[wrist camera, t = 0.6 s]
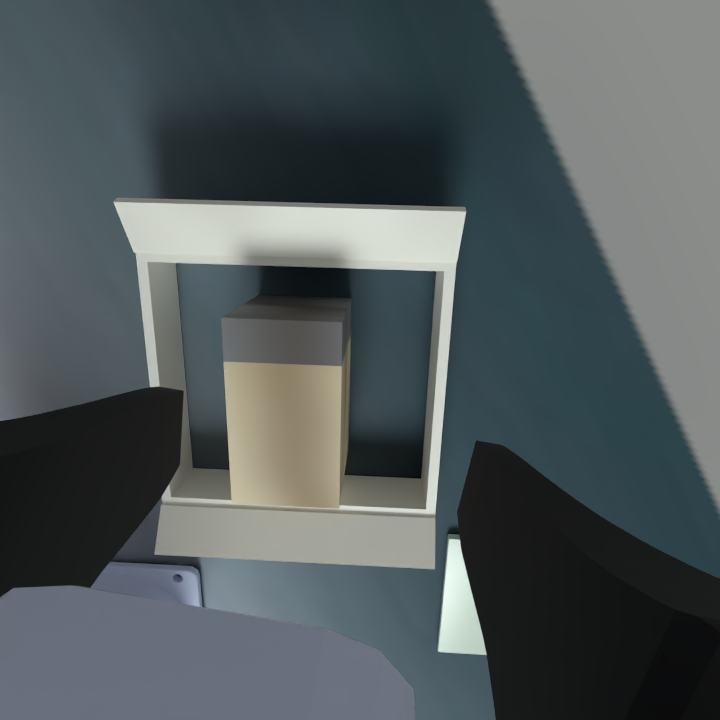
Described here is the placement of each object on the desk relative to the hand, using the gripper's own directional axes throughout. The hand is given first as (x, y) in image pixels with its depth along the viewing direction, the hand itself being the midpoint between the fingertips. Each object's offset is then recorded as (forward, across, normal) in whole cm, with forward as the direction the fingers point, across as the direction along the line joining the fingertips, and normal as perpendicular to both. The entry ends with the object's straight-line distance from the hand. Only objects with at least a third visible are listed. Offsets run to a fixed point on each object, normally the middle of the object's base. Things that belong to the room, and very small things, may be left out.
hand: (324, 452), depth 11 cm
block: (+10, +2, +2) cm, 10 cm away
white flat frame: (+10, +2, +2) cm, 10 cm away
